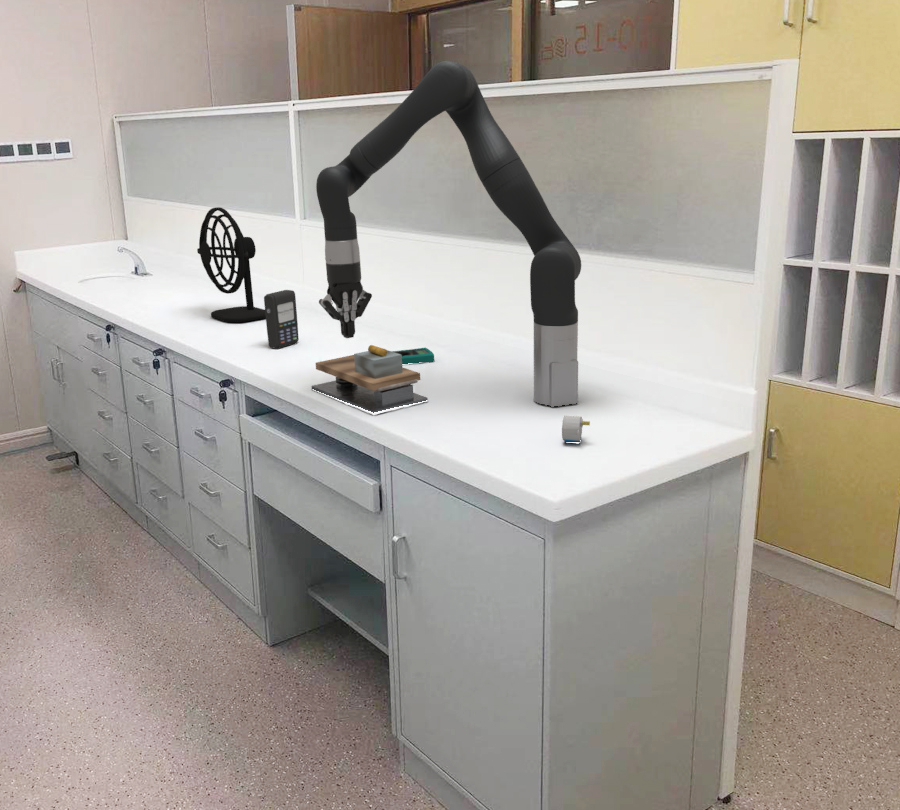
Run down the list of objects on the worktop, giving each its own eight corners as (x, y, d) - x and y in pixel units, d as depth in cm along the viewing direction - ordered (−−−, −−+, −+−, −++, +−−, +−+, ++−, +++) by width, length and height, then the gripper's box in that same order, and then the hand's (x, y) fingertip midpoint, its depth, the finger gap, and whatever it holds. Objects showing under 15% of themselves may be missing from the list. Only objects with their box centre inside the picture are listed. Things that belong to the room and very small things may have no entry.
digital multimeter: (372, 362, 228) (371, 351, 227) (428, 357, 232) (427, 346, 231) (378, 369, 222) (377, 358, 221) (435, 363, 225) (435, 352, 225)
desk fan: (194, 315, 291) (181, 206, 281) (243, 307, 302) (232, 202, 291) (232, 328, 271) (219, 211, 261) (282, 319, 282) (272, 206, 271)
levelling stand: (427, 402, 193) (426, 381, 192) (373, 416, 185) (372, 394, 184) (363, 378, 213) (362, 359, 211) (311, 390, 205) (310, 370, 203)
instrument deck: (421, 382, 191) (420, 348, 189) (374, 393, 185) (372, 358, 182) (360, 361, 210) (358, 330, 208) (316, 370, 203) (313, 338, 201)
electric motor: (586, 449, 162) (587, 423, 161) (560, 447, 164) (560, 422, 162) (591, 436, 169) (592, 411, 167) (566, 435, 170) (566, 410, 169)
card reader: (277, 350, 243) (272, 295, 238) (267, 348, 245) (261, 294, 240) (300, 343, 250) (296, 290, 245) (290, 341, 252) (285, 288, 247)
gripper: (325, 265, 188) (331, 345, 194) (377, 258, 196) (382, 334, 201) (307, 262, 194) (314, 339, 199) (359, 255, 202) (364, 330, 207)
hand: (348, 337), depth 200 cm, fingers closed
